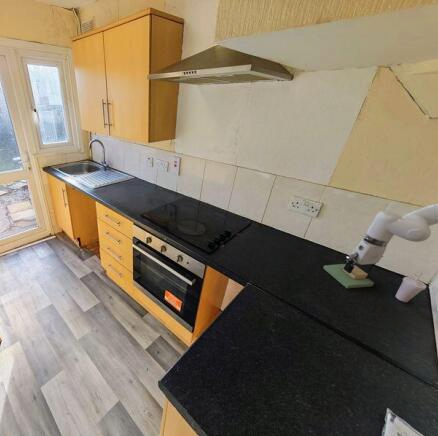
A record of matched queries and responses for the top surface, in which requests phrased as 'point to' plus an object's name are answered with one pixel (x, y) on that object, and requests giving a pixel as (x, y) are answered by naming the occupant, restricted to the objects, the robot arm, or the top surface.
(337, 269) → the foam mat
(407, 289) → the smoothie
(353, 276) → the tan block
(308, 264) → the top surface
